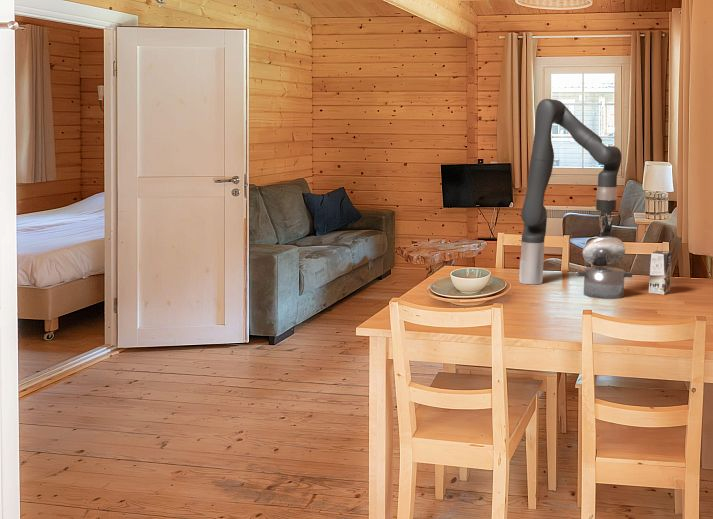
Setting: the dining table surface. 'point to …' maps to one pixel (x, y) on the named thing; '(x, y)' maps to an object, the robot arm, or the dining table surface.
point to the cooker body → (603, 282)
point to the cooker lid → (604, 250)
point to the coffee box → (660, 272)
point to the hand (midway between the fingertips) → (604, 242)
